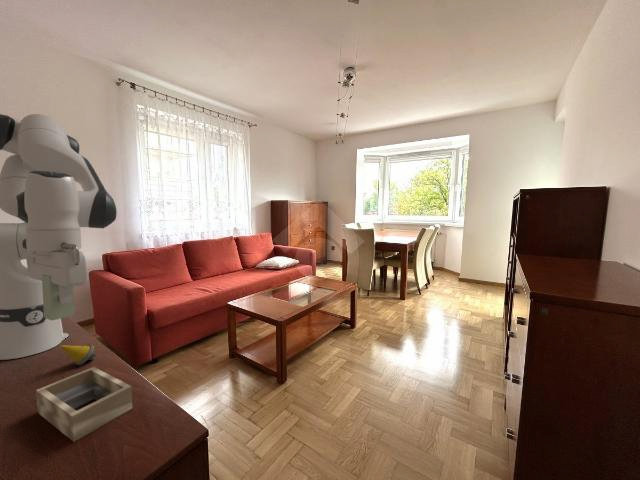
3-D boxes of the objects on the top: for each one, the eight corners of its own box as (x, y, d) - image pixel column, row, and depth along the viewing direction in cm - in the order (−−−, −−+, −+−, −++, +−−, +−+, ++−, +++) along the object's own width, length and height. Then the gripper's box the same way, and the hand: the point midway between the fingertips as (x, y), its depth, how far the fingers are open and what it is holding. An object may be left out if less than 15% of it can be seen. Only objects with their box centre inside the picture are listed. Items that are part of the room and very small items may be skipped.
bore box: (37, 412, 56) (36, 390, 56) (94, 386, 65) (93, 366, 65) (73, 442, 49) (72, 416, 49) (132, 408, 58) (131, 386, 57)
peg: (44, 317, 61) (41, 274, 61) (66, 312, 65) (64, 272, 64) (51, 320, 60) (49, 276, 59) (74, 315, 63) (72, 273, 63)
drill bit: (97, 365, 75) (60, 352, 69) (84, 371, 76) (46, 358, 70) (106, 347, 79) (72, 333, 73) (93, 352, 80) (59, 339, 74)
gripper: (95, 243, 59) (98, 303, 60) (54, 239, 68) (57, 292, 69) (57, 245, 54) (61, 312, 55) (18, 241, 63) (22, 298, 64)
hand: (58, 301), depth 62 cm, fingers closed on peg, 4 cm apart
